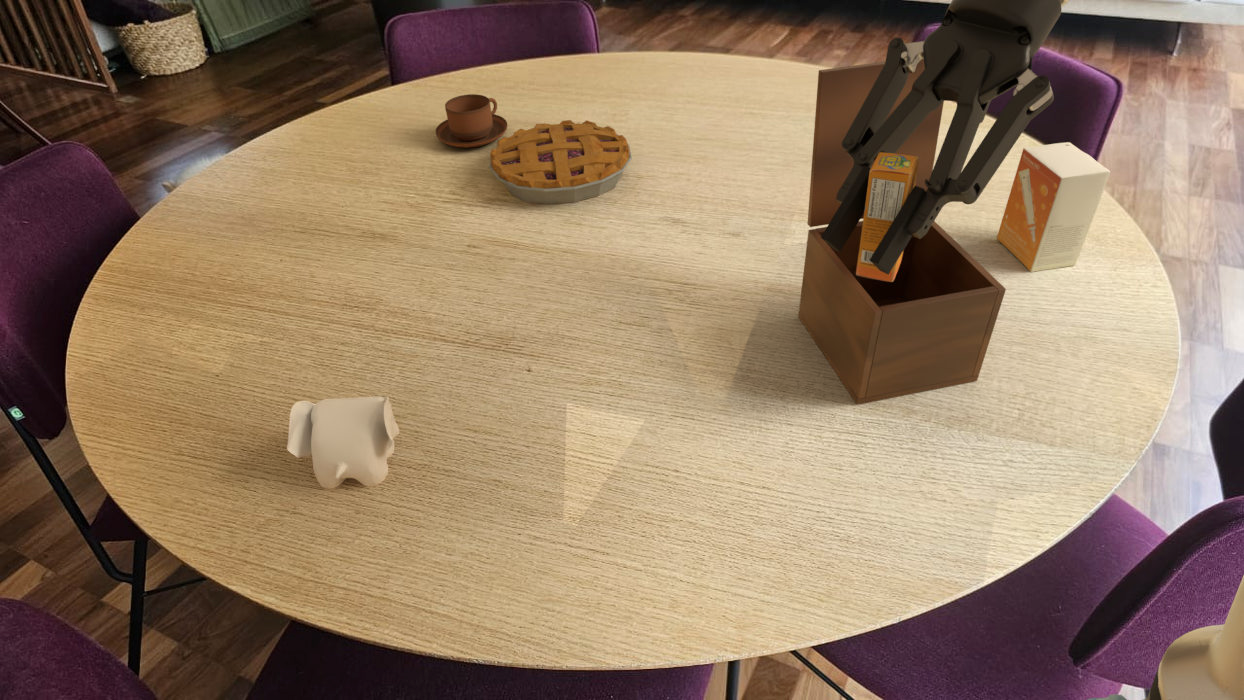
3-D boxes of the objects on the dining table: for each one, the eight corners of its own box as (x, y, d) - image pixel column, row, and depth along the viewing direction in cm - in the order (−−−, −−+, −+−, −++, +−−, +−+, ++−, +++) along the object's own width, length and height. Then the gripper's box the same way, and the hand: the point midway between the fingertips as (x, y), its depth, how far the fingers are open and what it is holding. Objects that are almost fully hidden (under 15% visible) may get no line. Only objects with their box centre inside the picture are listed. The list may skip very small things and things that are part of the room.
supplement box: (860, 255, 70) (879, 148, 63) (901, 263, 69) (925, 155, 62) (850, 275, 68) (870, 166, 61) (892, 285, 66) (916, 174, 60)
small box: (994, 239, 106) (1021, 146, 97) (1040, 233, 106) (1070, 140, 98) (1029, 273, 99) (1061, 177, 91) (1077, 266, 100) (1113, 170, 92)
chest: (977, 380, 85) (1006, 289, 77) (856, 404, 83) (874, 312, 75) (904, 297, 97) (923, 210, 89) (798, 316, 95) (808, 229, 87)
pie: (483, 155, 132) (478, 126, 128) (613, 135, 135) (611, 106, 132) (501, 220, 115) (496, 188, 112) (649, 195, 119) (648, 164, 115)
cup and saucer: (459, 120, 143) (452, 86, 139) (520, 127, 139) (515, 92, 135) (424, 149, 134) (416, 113, 130) (488, 157, 131) (483, 121, 127)
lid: (951, 54, 79) (919, 40, 84) (821, 72, 77) (796, 56, 82) (926, 208, 89) (899, 187, 94) (810, 227, 87) (788, 204, 92)
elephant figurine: (422, 420, 84) (404, 354, 78) (402, 511, 75) (379, 444, 69) (330, 424, 84) (305, 359, 78) (299, 516, 75) (268, 450, 69)
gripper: (1135, 40, 60) (962, 314, 62) (931, -5, 70) (789, 232, 72) (1128, -20, 54) (937, 286, 56) (906, -60, 64) (753, 201, 66)
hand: (854, 255), depth 64 cm, fingers closed on supplement box, 4 cm apart
